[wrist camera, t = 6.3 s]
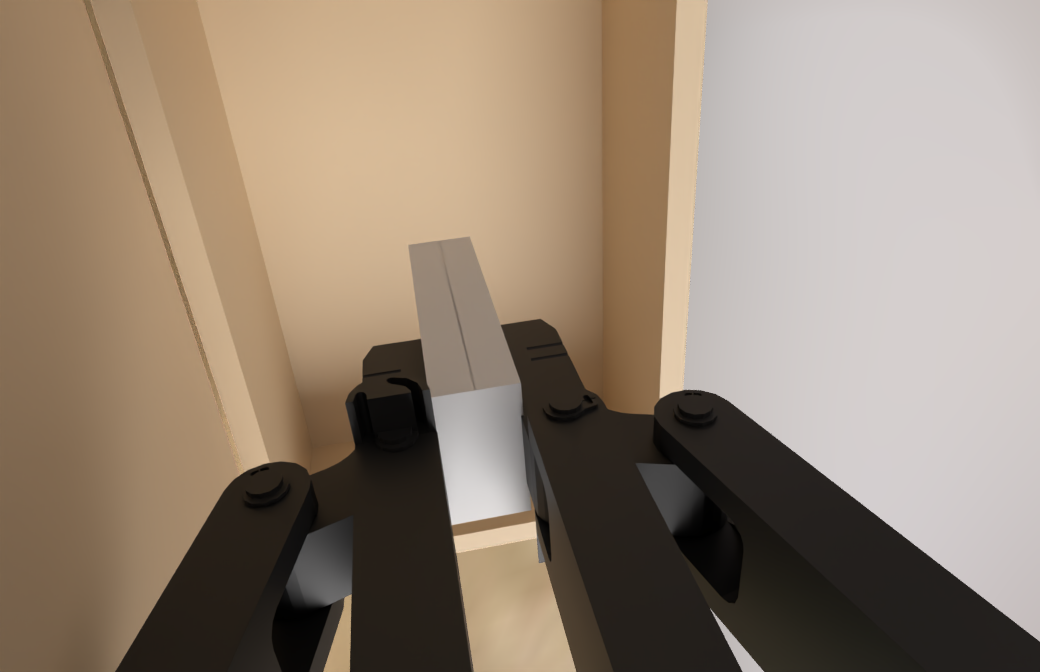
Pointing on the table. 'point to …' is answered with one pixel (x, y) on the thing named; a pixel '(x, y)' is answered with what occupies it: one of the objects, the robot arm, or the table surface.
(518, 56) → the open box
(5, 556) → the lid
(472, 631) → the table surface
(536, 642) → the table surface
